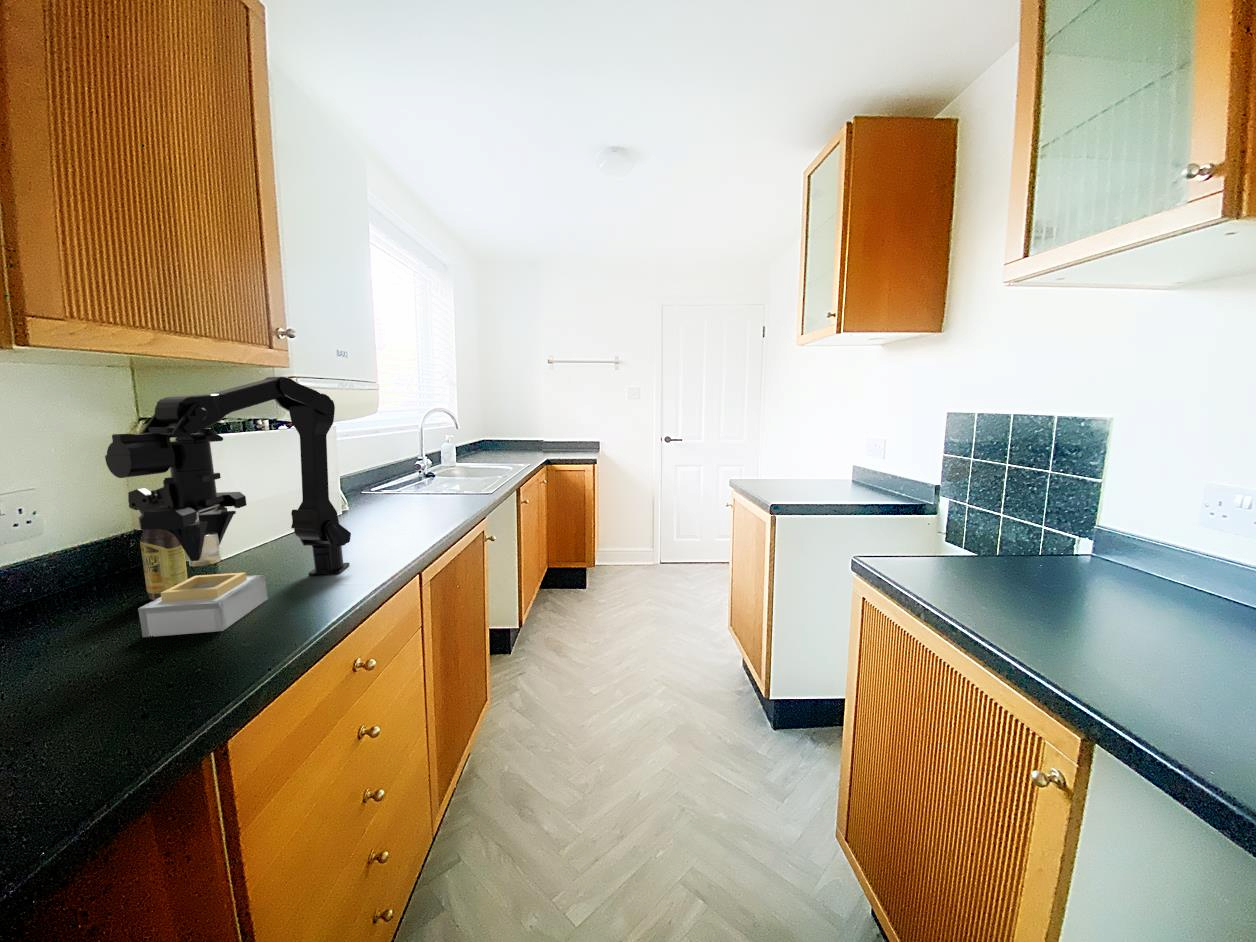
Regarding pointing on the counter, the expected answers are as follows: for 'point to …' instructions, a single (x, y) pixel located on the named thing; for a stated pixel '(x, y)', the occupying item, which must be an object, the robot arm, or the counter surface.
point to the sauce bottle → (162, 561)
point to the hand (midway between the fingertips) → (204, 556)
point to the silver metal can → (208, 550)
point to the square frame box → (203, 604)
